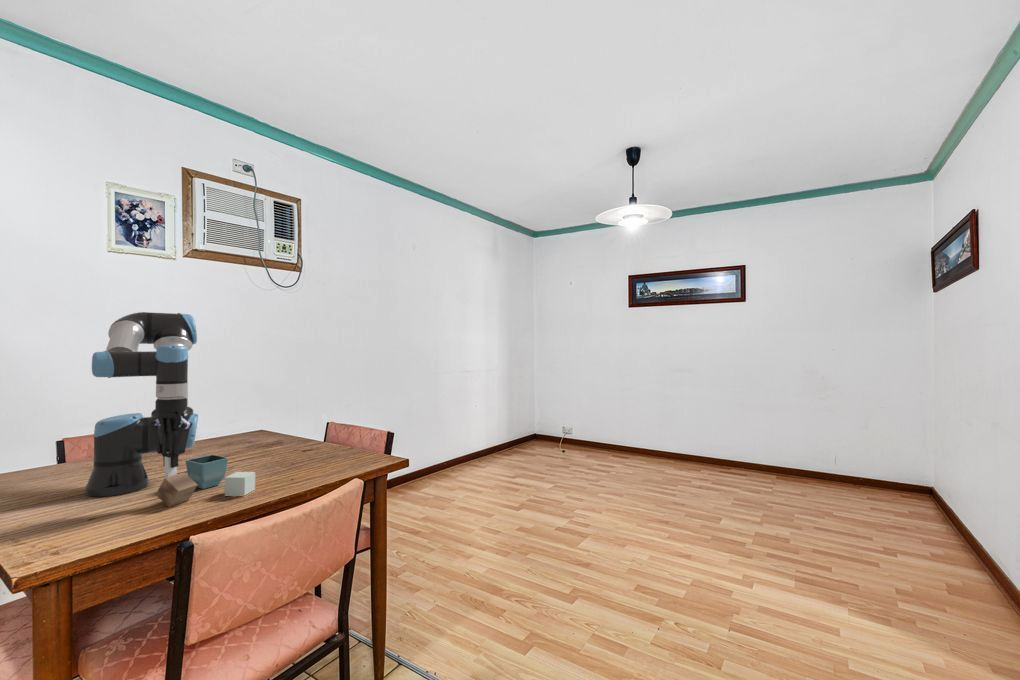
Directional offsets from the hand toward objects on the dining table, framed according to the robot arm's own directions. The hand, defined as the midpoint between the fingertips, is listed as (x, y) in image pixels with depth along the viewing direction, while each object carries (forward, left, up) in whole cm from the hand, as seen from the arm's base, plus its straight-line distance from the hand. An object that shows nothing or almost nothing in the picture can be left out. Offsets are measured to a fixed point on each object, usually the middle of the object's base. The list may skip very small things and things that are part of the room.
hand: (170, 478), depth 133 cm
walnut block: (+1, 0, -6) cm, 6 cm away
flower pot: (-3, +15, -8) cm, 17 cm away
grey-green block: (+13, +12, -7) cm, 19 cm away
